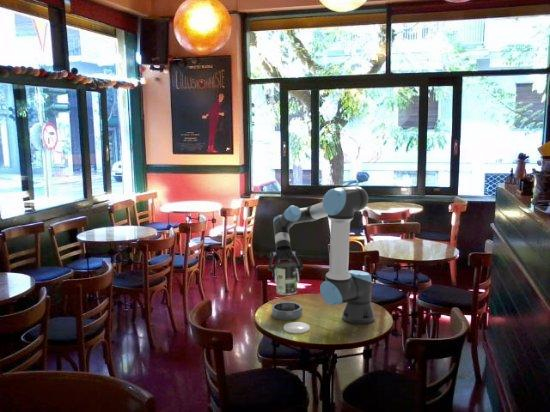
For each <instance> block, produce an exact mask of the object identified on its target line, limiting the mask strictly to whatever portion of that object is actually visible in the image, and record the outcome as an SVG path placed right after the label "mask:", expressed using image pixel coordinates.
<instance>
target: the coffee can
mask: <svg viewBox="0 0 550 412" xmlns="http://www.w3.org/2000/svg"><path fill="white" fill-rule="evenodd" d="M296 263H297V262H296ZM296 263H294V262H290V261H280V262H279V263H277V264H276V273H277V284H275V285H276V294H277V295H282V296H291V295H295V294H297V293H298V283H297V264H298V263H297V264H296Z"/></svg>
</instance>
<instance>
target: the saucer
mask: <svg viewBox="0 0 550 412" xmlns="http://www.w3.org/2000/svg"><path fill="white" fill-rule="evenodd" d="M310 329H311V328H310V325H309V324H308V323H305V322H301V321H293V322H287V323H285V324H284V325H283V331H284V332H285V333H288V334H289V333H290V334H295V335H297V334H304V333H307V332H309V331H310Z"/></svg>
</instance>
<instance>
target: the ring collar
mask: <svg viewBox="0 0 550 412" xmlns="http://www.w3.org/2000/svg"><path fill="white" fill-rule="evenodd" d="M271 316H272V318H275V319H277V320H282V321H291V320H292V321H293V320H297V319H299V318H301V317H302V316H303V306H302V305H301V304H300V303H297V302H293V301H282V302H277V303H274V304H273V305H272V306H271Z"/></svg>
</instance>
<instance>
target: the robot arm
mask: <svg viewBox="0 0 550 412" xmlns="http://www.w3.org/2000/svg"><path fill="white" fill-rule="evenodd" d="M368 203H369V195H368V193H367V191H366V190H365V189H364V188H363V187H361V186H359V185H358V186H357V185H352V186H342V187H335V188H331V189H329V190H327V191H326V193H325V194H324V195H323V198H322V201H321V202H319V203H316V204H313V205H310V206H307V207H298V205H297V206H296V205H289V206H288V208H286V209H285V210H284V212H283V213H282V214H279V215H277V216H274V218H273V222H272V225H273V233H274V242H275V251H270V259H269V262H268V268H267V270H268V272H269V271H270V272H271V273H272V275H271V276H272V278H274V284H275V285H276V284H277V273H276V264H277V263H279V262H281V261H284V260H286V261H287V260H288V262H294V263H296V264H297V284H298V283H300V276H301V273H302V272H301V270H303V269H304V264H303V263H302V259H301V257H300V255H299V252H298V250H297V249H296V250H295V251H294V250H292V245H291V238H290V229H291V228H292V227H293V226H294V225H295V224H300V223H301V224H302V223H307V222H314V221H317V220H319V219H322V218H328V219H329V220H330V235H329V236H330V237H329V238H330V239H329V240H330V241H329V245H330V246H329V269H328V272H326V274H325V281H322V283H321V284H320V287H319V290H320V291H319V292H320V296H321V297H322V299H323V300H324V302H325V303H326V304H328V305H330V306H339V305H342V304H345V305H344V308H343V311H342V319H343V321H345V322H347V323H351V324H358V325H359V324H360V325H364V324H365V325H366V324H370V323H372V322H374V321H375V312H374V308H373V305H372V283H373V281H372V275H371V274H370V273H369V272H367V271H362V270H354V269H351V270H349V259H350V258H349V257H350V233H351V232H350V231H351V222H352V221H353V220H354V216H355V212H359V211H362V210H363V209H365V208H366V207H367V205H368ZM292 255H293V256H292ZM275 256H277V258H276V260H275V262H274V264H273V260H274V257H275ZM293 257H294V258H295V259H294V258H293Z"/></svg>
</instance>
